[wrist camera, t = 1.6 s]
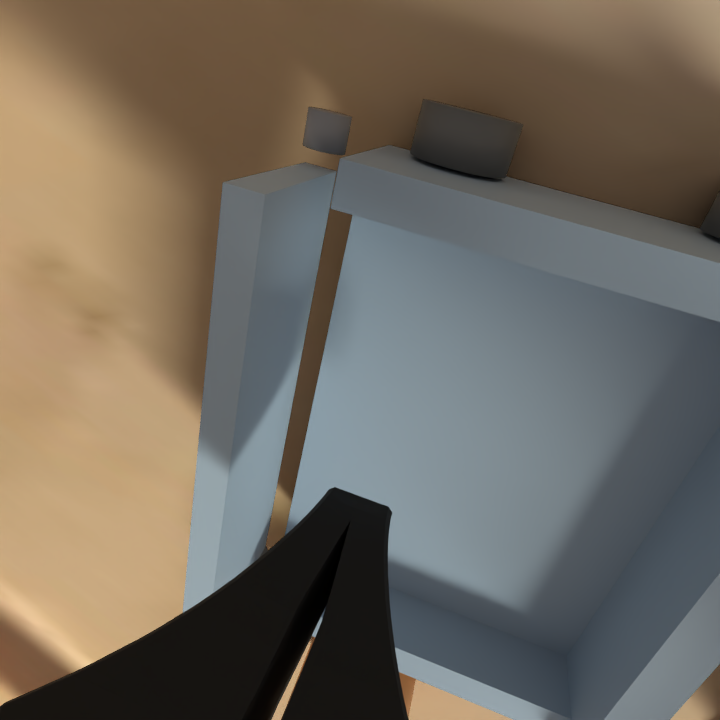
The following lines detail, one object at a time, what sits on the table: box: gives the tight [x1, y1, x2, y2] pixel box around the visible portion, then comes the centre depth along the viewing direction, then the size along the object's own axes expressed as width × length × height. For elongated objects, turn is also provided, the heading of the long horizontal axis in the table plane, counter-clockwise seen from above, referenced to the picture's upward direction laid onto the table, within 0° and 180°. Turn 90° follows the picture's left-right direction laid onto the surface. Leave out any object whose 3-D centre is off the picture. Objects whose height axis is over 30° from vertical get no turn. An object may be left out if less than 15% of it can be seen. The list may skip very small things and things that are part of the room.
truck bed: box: [259, 99, 720, 720], centre depth 15 cm, size 12×17×6 cm
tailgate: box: [183, 162, 337, 612], centre depth 14 cm, size 1×13×4 cm, turn 168°
